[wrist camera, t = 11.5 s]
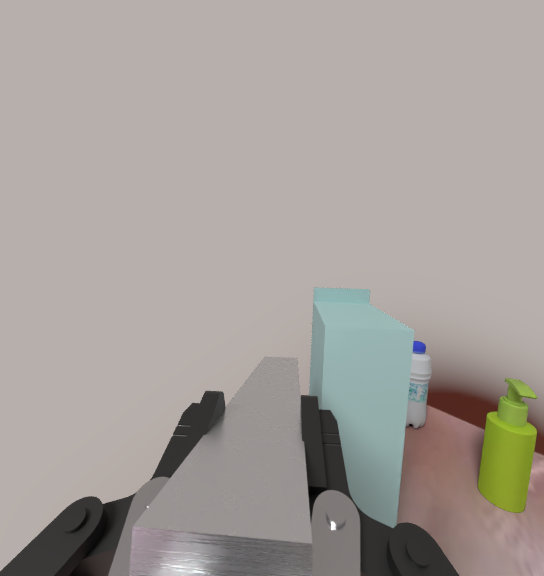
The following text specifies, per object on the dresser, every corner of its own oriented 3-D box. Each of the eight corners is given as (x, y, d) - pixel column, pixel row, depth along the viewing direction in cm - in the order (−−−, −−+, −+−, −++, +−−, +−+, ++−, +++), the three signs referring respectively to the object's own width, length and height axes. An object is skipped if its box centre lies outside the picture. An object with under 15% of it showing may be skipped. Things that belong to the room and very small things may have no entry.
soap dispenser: (486, 509, 40) (503, 388, 38) (473, 475, 47) (486, 370, 44) (536, 525, 38) (557, 398, 36) (515, 488, 44) (531, 377, 42)
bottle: (432, 431, 58) (441, 346, 56) (402, 431, 58) (410, 346, 56) (415, 414, 65) (423, 337, 63) (389, 413, 65) (396, 336, 63)
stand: (386, 626, 27) (416, 309, 23) (310, 615, 28) (326, 305, 24) (354, 496, 42) (368, 289, 38) (304, 491, 43) (314, 287, 39)
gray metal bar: (311, 702, 4) (311, 543, 5) (121, 675, 5) (132, 526, 5) (296, 382, 27) (297, 358, 28) (264, 380, 28) (264, 356, 28)
